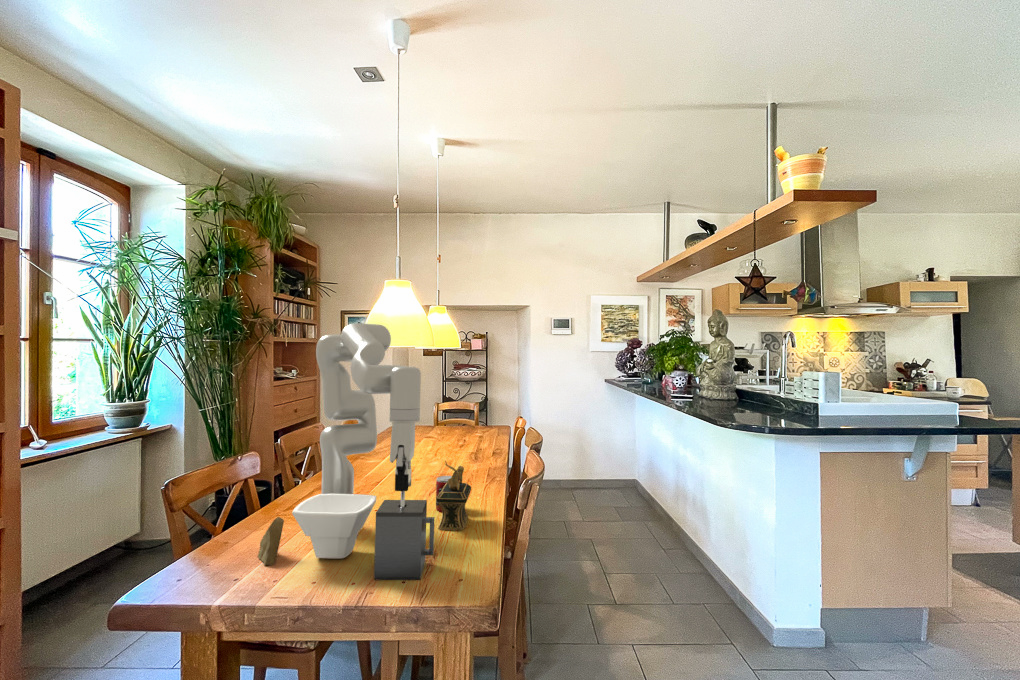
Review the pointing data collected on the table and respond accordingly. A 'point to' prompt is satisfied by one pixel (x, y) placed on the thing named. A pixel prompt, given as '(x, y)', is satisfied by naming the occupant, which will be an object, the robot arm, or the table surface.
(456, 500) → the decorative box
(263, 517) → the table surface
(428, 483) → the table surface
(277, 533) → the rock
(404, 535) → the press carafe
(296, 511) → the bowl
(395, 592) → the table surface
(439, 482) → the canned food
